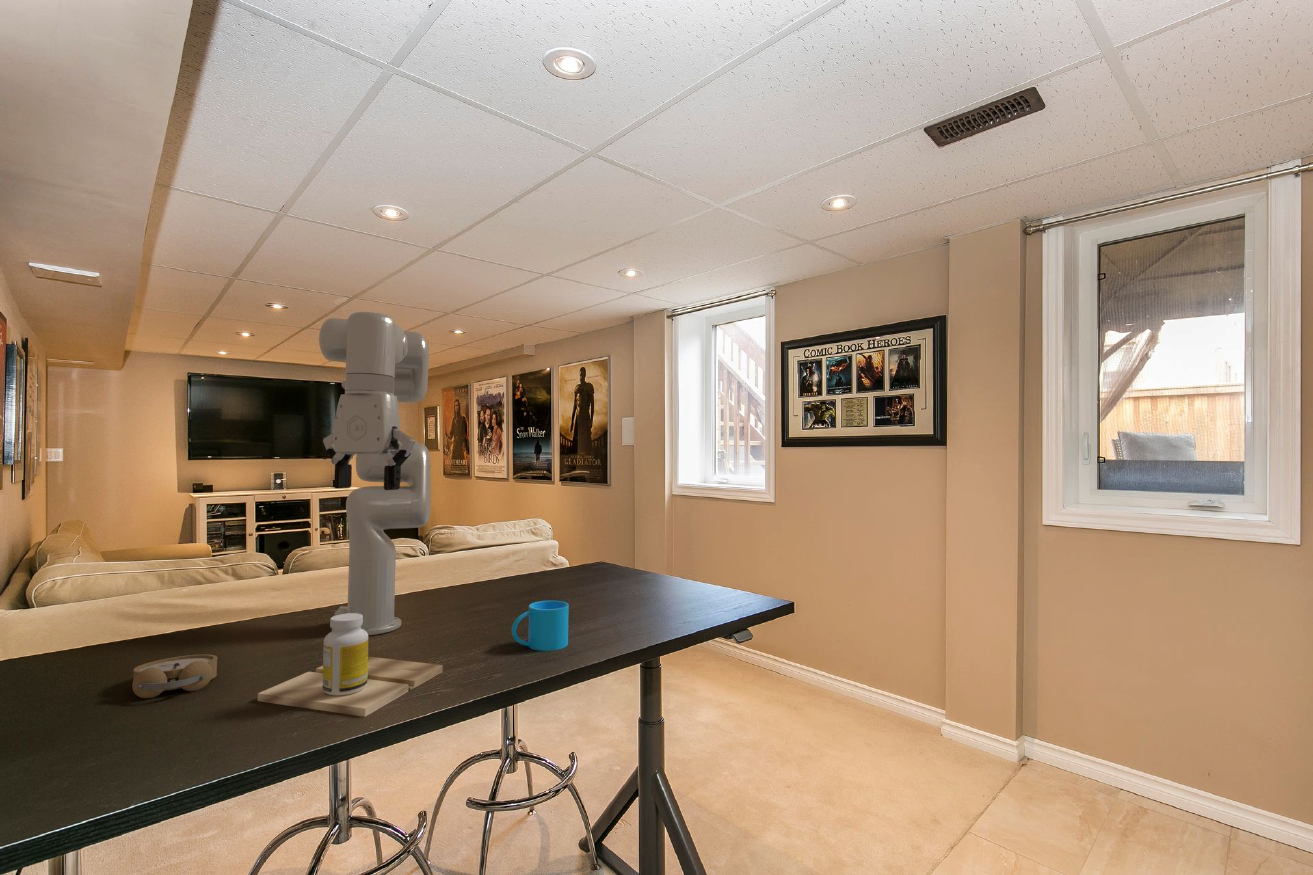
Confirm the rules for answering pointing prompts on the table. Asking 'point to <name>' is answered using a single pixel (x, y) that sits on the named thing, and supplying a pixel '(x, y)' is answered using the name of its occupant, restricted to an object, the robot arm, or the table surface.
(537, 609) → the mug
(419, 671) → the floor row
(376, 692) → the plank
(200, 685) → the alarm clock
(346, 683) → the pill bottle
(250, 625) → the table surface
